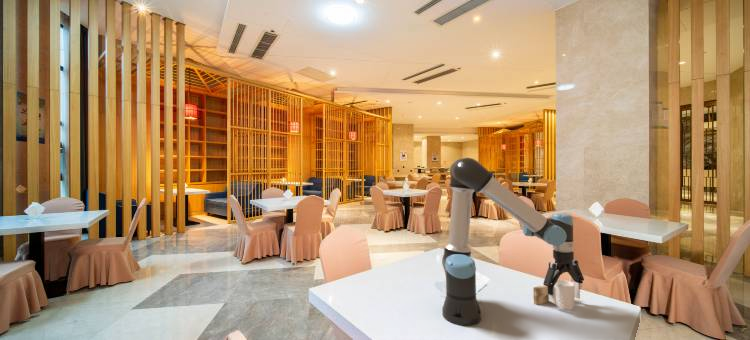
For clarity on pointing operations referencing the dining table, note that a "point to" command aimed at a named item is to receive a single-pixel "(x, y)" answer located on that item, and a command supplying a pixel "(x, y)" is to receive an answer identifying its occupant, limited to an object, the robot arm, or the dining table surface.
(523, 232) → the robot arm
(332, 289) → the dining table surface
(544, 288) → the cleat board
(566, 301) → the white cup
